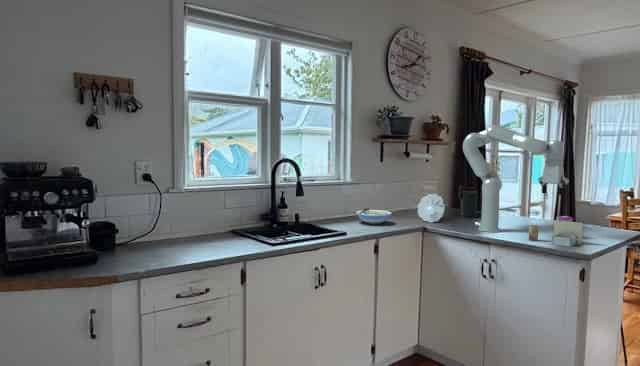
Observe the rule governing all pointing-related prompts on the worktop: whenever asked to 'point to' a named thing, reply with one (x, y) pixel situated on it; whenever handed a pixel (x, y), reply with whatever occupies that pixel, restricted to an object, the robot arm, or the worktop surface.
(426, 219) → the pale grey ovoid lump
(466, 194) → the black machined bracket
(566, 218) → the supplement box
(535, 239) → the tan cylinder
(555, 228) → the cream block
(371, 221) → the ramen bowl
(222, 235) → the worktop surface
